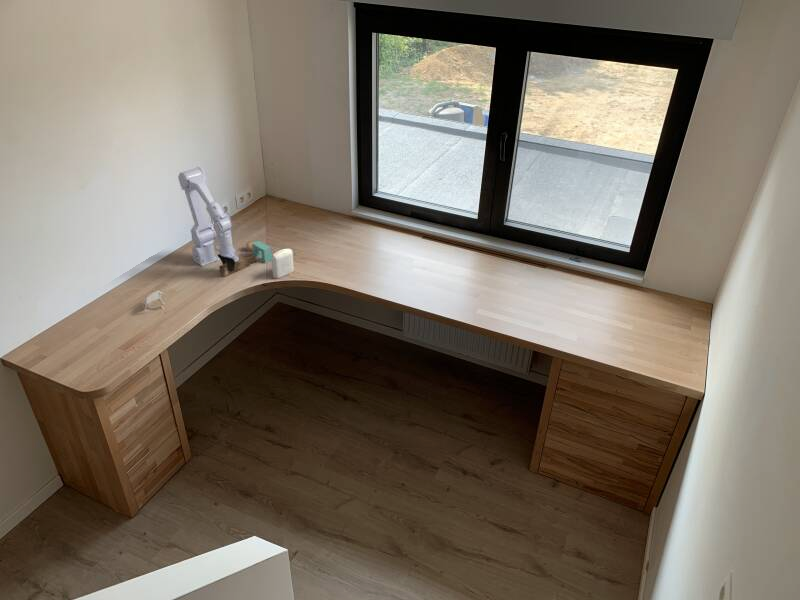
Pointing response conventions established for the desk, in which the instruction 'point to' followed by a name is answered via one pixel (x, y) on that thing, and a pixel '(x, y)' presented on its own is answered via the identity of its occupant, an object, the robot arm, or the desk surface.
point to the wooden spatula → (237, 265)
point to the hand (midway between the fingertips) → (229, 269)
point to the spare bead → (249, 246)
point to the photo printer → (282, 263)
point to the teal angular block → (262, 251)
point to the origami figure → (154, 299)
